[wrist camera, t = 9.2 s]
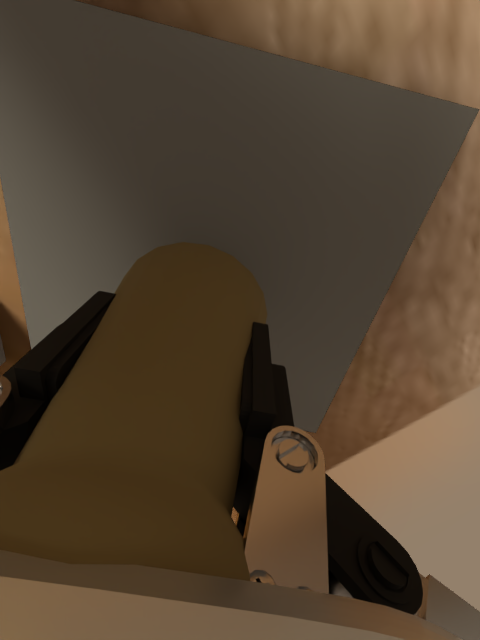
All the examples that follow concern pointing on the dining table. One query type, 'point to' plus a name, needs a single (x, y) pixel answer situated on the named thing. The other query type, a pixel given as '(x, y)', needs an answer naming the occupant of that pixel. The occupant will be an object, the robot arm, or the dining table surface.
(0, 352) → the slate-grey block
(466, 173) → the dining table surface
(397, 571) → the robot arm
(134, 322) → the olive lobed rounded piece
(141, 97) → the mat
